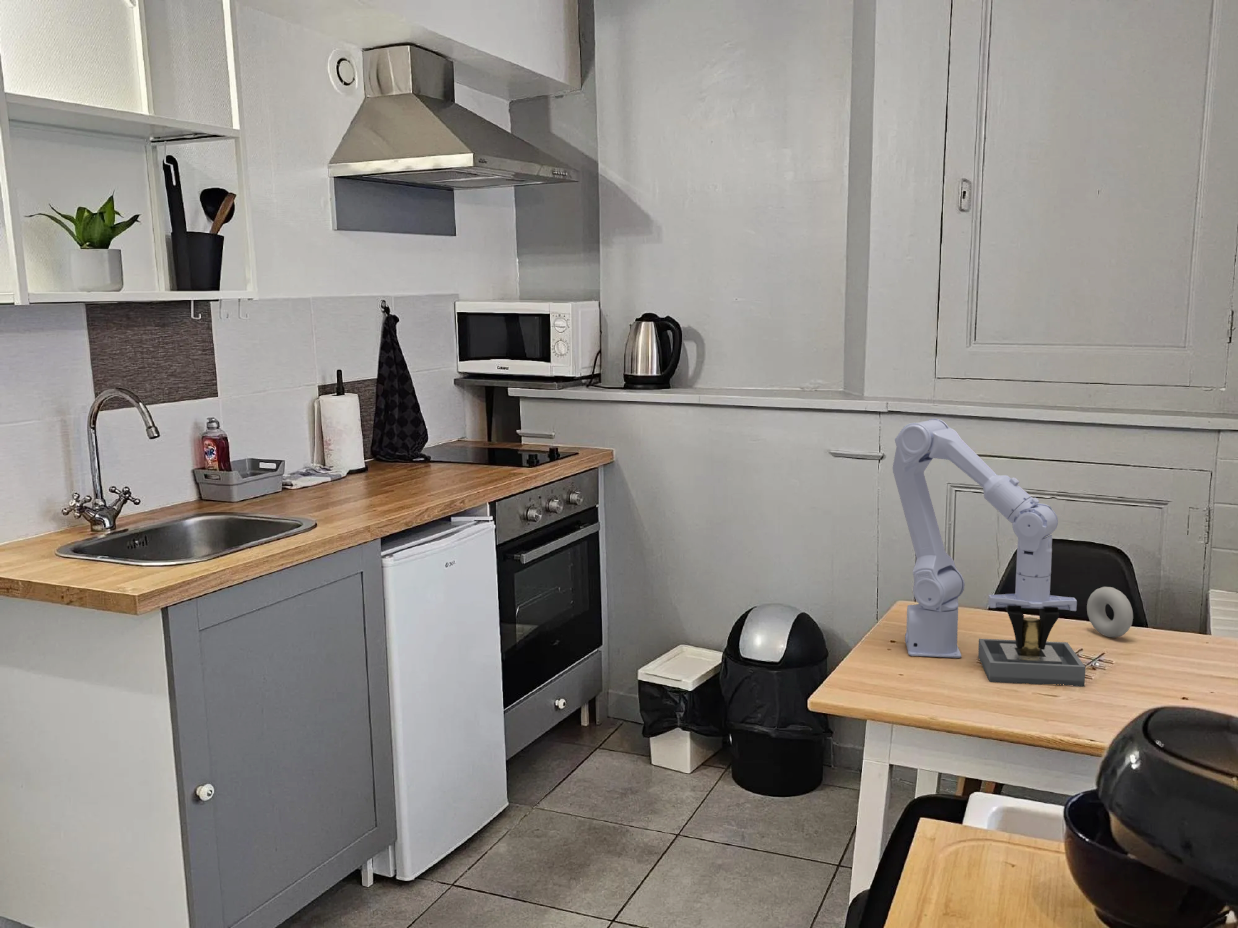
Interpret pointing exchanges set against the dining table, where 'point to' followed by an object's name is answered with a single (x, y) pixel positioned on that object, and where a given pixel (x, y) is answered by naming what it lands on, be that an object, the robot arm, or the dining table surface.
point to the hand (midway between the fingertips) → (1030, 647)
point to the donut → (1119, 606)
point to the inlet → (1013, 655)
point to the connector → (1031, 637)
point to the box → (1031, 666)
